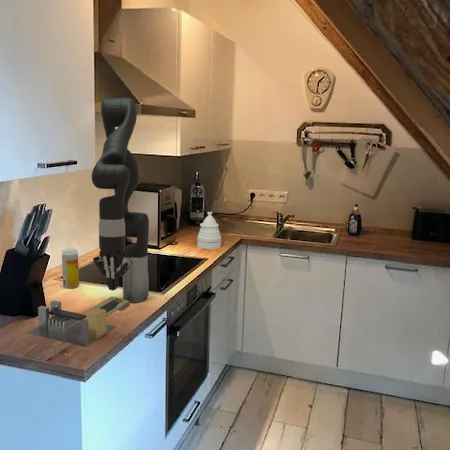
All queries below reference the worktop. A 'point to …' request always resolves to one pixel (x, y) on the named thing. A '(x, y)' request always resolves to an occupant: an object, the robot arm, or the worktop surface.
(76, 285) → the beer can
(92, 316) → the gold block
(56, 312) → the strap
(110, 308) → the computer
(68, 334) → the heatsink base
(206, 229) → the honey pot
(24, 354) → the worktop surface
